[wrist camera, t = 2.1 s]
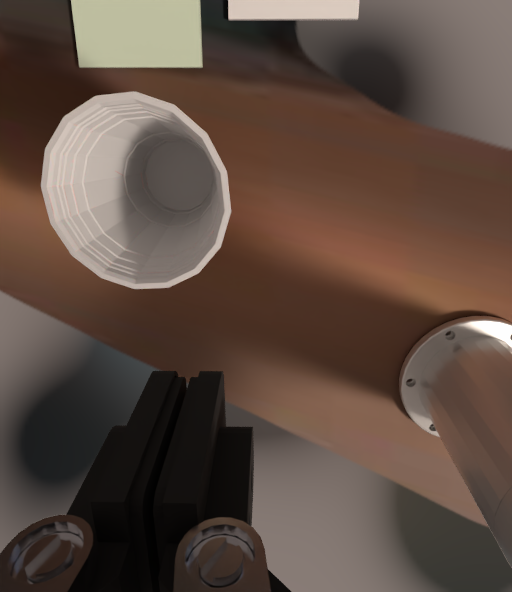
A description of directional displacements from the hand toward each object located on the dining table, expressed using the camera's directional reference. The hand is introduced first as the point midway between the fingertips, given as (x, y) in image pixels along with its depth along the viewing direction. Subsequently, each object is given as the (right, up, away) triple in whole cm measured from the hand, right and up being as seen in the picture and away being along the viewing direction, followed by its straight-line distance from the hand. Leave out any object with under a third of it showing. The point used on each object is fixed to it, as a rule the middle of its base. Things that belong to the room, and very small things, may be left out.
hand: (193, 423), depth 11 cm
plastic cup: (-5, +13, +25) cm, 28 cm away
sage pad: (-7, +24, +20) cm, 32 cm away
